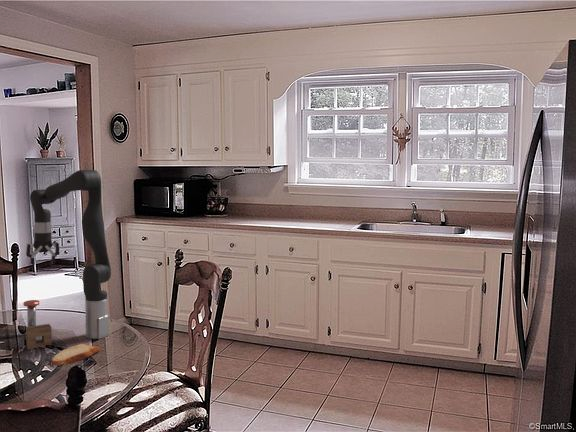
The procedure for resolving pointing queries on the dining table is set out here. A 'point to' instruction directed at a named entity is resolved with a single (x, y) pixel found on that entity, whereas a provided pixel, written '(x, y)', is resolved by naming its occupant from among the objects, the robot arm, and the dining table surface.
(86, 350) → the seeded bread slice
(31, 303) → the copper-capped metal peg
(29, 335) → the brown striped block
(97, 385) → the dining table surface
